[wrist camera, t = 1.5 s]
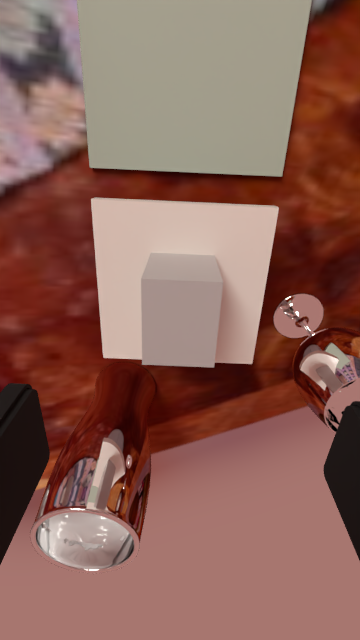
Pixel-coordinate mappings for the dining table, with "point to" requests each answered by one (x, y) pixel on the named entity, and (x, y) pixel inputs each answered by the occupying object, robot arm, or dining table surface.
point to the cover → (181, 279)
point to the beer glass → (101, 478)
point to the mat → (191, 83)
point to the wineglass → (321, 358)
